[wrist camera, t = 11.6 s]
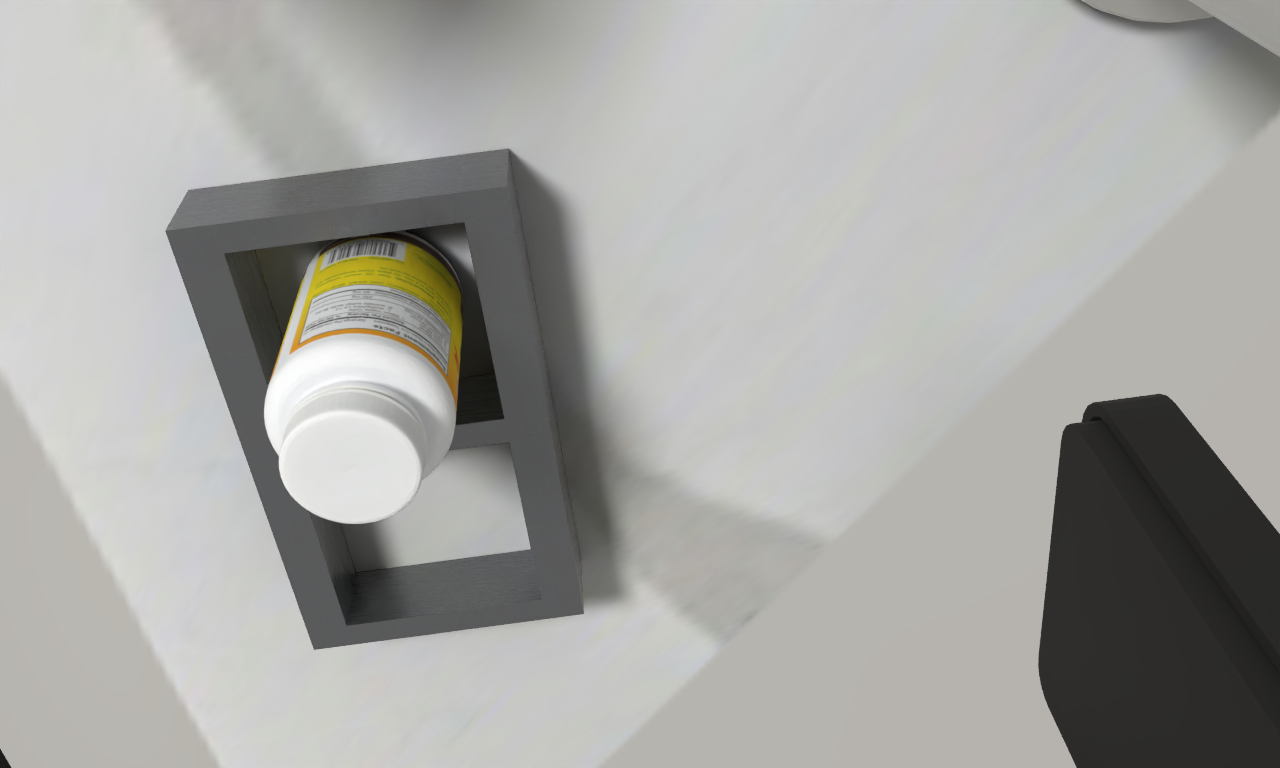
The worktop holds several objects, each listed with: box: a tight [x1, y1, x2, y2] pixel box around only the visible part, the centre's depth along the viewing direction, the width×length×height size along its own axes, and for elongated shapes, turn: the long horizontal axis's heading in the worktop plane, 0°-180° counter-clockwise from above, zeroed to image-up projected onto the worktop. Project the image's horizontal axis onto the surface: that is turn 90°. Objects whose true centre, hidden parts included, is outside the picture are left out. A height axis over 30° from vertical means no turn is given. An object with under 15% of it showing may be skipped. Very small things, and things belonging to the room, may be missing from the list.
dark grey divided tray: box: [166, 149, 584, 650], centre depth 43 cm, size 18×10×3 cm, turn 6°
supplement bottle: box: [264, 231, 464, 524], centre depth 38 cm, size 6×6×10 cm
